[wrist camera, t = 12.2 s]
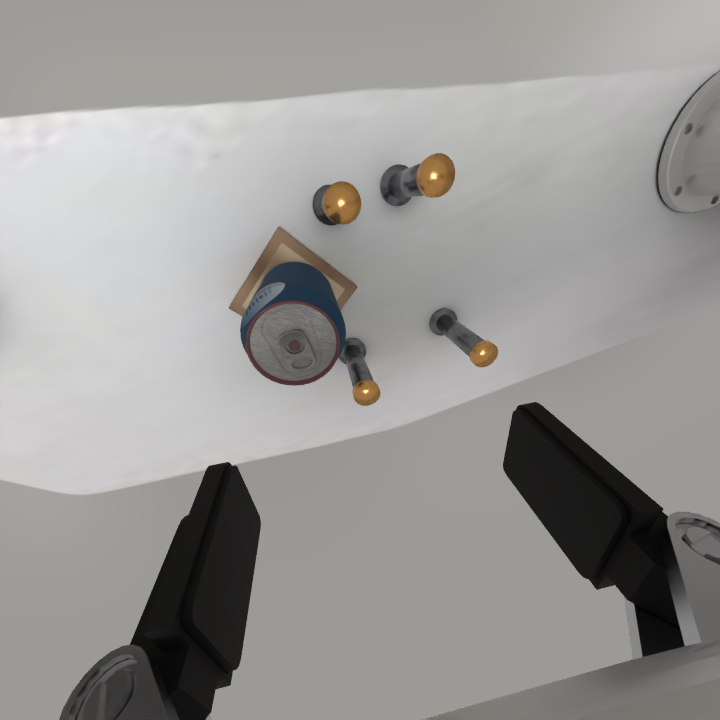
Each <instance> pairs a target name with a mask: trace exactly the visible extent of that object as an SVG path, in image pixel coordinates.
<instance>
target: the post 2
mask: <svg viewBox="0 0 720 720" xmlns="http://www.w3.org/2000/svg"><path fill="white" fill-rule="evenodd" d="M365 354H366V348H365V346H364V344H363V343H362V342H361V341H360V340H358V339H354V338H351V339H347V340H345V343H344V347H343V350H342V352H341V354H340V356H339V358H340V360H341V361H342V362H343V363H345V364H347V367H348V371H349V374H350V378H351V381H352V385H353V396H354V399H355V401H356V402H357V403H358V404H360V405H363V406H367V405H371V404H373V403H375V402H376V401H377V400H378V398H379V396H380V389H379V387H378V385H377V383H376V382H374V381H373V378H372V376H371V374H370V371H369V369H368V366H367V364H366V362H365V359H364V357H365Z"/></svg>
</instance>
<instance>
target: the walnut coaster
mask: <svg viewBox="0 0 720 720" xmlns="http://www.w3.org/2000/svg"><path fill="white" fill-rule="evenodd" d="M287 262H302V263H306V264H309V265H311V266H313V267H315V268H316V269H318V270H319V271H320V272H321V273H323V275H324V276H325V277H326V278H327V280H328V281H329V283H330V285H331V287H332V290H333V293H334V295H335V298H336V301H337V304H338V306H339V309H340V310H341V308H342V307H343V306H344V304H345V303H346V302H347V300H348V299H349V298H350V296H351V295H352V294H353V292H354V291H355V290H356V288H357V286H356V285H355V284H354V283H353V282H351V281H350V280H349V279H347V278H346V277H345V276H343V275H342V274H341V273H339V272H338V271H337V270H335V269H334V268H333V267H331V266H330V265H329V264H328V263H326V262H325V261H324V260H322V259H321V258H320V257H318V256H317V255H316V254H314V253H313V252H312V251H310V250H309V249H308V248H306V247H305V246H304V245H302V244H301V243H300V242H299V241H297V240H296V239H295V238H293V237H292V236H291V235H289V234H288V233H287V232H285V231H284V230H283V229H281V228H280V227H278V228H277V230H276V232H275V233H274V235H273V236H272V238H271V240H270V241H269V243H268V245H267V246H266V248H265V249H264V251H263V253H262V254H261V256H260V258H259V259H258V261H257V263H256V264H255V266H254V267H253V269H252V271H251V272H250V274H249V276H248V277H247V279H246V281H245V282H244V284H243V285H242V287H241V289H240V290H239V292H238V294H237V295H236V297H235V298H234V300H233V302H232V303H231V305H230V307H229V309H231V310H232V311H234V312H236V313H238V314H239V315H241V316H243V315H244V313H245V310H246V309H247V307H248V305H249V303H250V301H251V300H252V298H253V296H254V294H255V292H256V291H257V289H258V287H259V285H260V284H261V282H262V280H263V278H264V277H265V275H266V274H267V273H268V272H269V271H270V270H271V269H273V268H274V267H276V266H278V265H280V264H283V263H287Z"/></svg>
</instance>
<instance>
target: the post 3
mask: <svg viewBox="0 0 720 720" xmlns="http://www.w3.org/2000/svg"><path fill="white" fill-rule="evenodd" d="M454 178H455V168H454V164H453V162H452V160H451V159H450V158H449V157H448V156H447V155H445V154H442V153H437V154H434V155H431V156H429V157H427V158H426V159H425V160H424V161H423V162H422V163H421V164H418V165H416V166H413V167H410V168H408V167H406V166H404V165H394V166H392V167H390V168H389V169H387V170H386V172H385V173H384V174H383V176H382V179H381V183H380V190H381V194H382V196H383V198H384V200H385V201H386V202H387V203H389V204H390V205H393V206H400V205H403V204H405V203H407V202H408V201H409V200H410V199H411V197H414V196H422V195H425V196H427V197H431V198H433V197H440V196H442V195H444V194H445V193H447V192H448V191H449V189H450V188H451V186H452V184H453V182H454Z"/></svg>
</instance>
